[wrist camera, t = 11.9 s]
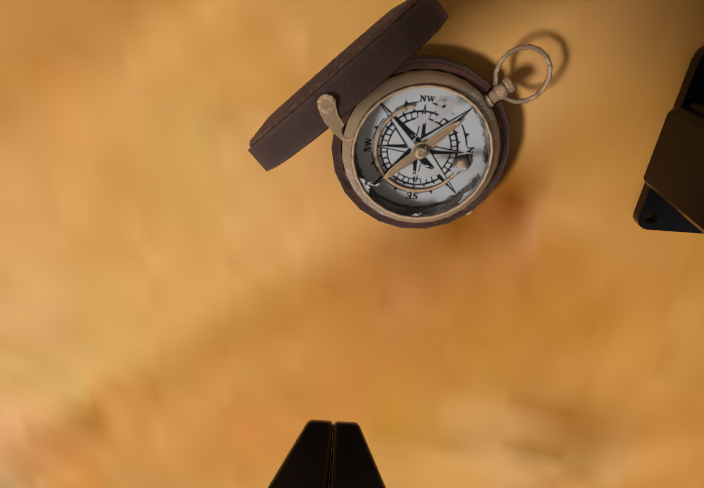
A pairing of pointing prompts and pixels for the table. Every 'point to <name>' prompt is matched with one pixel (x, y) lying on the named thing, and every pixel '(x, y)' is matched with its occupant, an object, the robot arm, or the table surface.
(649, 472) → the table surface
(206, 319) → the table surface
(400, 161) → the compass
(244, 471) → the table surface
